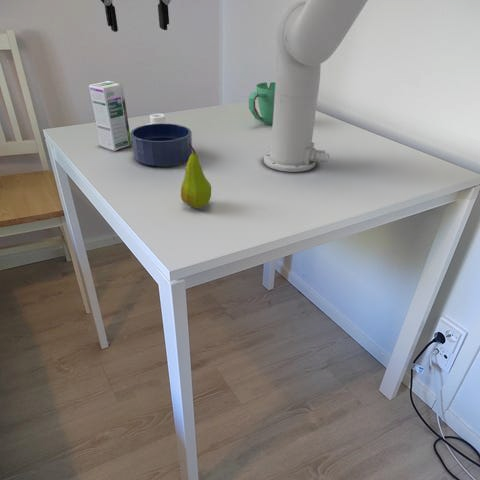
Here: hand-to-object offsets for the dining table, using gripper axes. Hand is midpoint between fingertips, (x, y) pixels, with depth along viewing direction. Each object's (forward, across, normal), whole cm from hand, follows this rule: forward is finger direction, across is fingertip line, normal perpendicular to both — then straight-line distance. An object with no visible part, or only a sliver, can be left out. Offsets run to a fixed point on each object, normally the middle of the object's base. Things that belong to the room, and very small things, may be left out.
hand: (139, 30), depth 83 cm
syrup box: (+27, -6, +17) cm, 33 cm away
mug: (+27, +40, +22) cm, 53 cm away
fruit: (+27, +2, -23) cm, 36 cm away
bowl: (+27, +4, +5) cm, 28 cm away
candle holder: (+27, +8, +25) cm, 38 cm away
